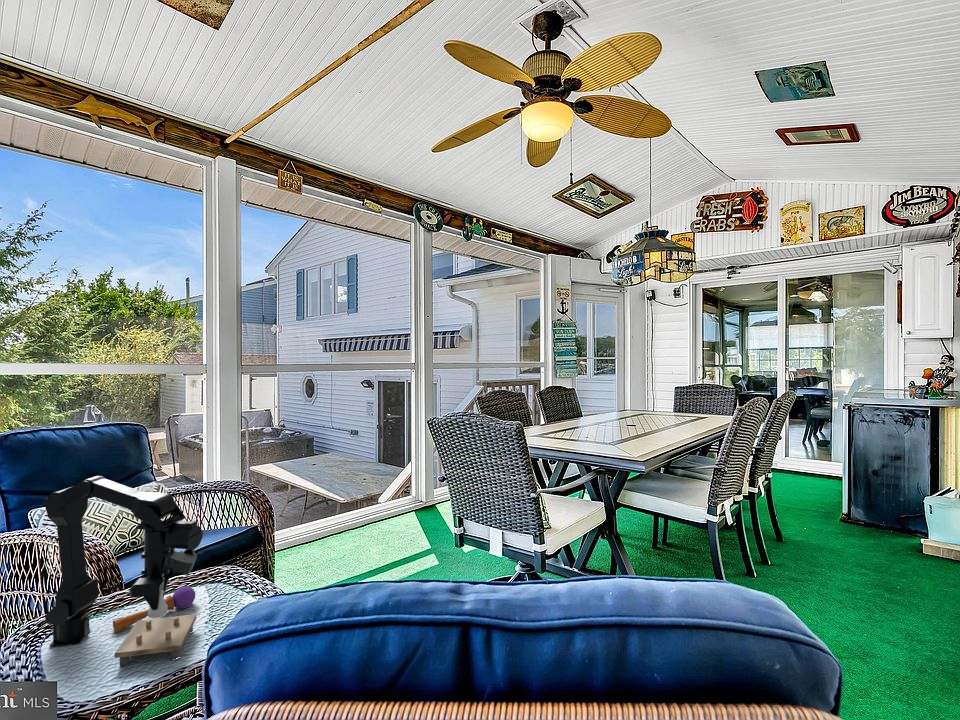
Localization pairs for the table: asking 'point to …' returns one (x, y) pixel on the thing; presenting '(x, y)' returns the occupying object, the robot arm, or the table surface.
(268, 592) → the table surface
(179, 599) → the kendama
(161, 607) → the rook chess piece
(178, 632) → the peg board
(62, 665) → the table surface
